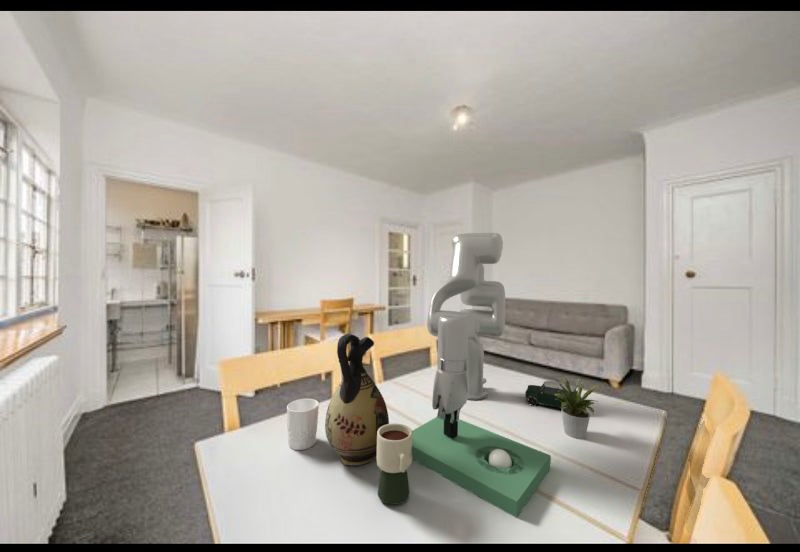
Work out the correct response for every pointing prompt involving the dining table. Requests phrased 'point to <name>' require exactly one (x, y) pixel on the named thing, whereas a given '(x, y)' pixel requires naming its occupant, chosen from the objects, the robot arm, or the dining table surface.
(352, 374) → the ceramic jug
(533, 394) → the miniature car
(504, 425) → the dining table surface
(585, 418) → the house plant
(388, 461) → the character mug
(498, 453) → the golf ball
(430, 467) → the board
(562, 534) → the dining table surface
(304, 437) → the white cup
